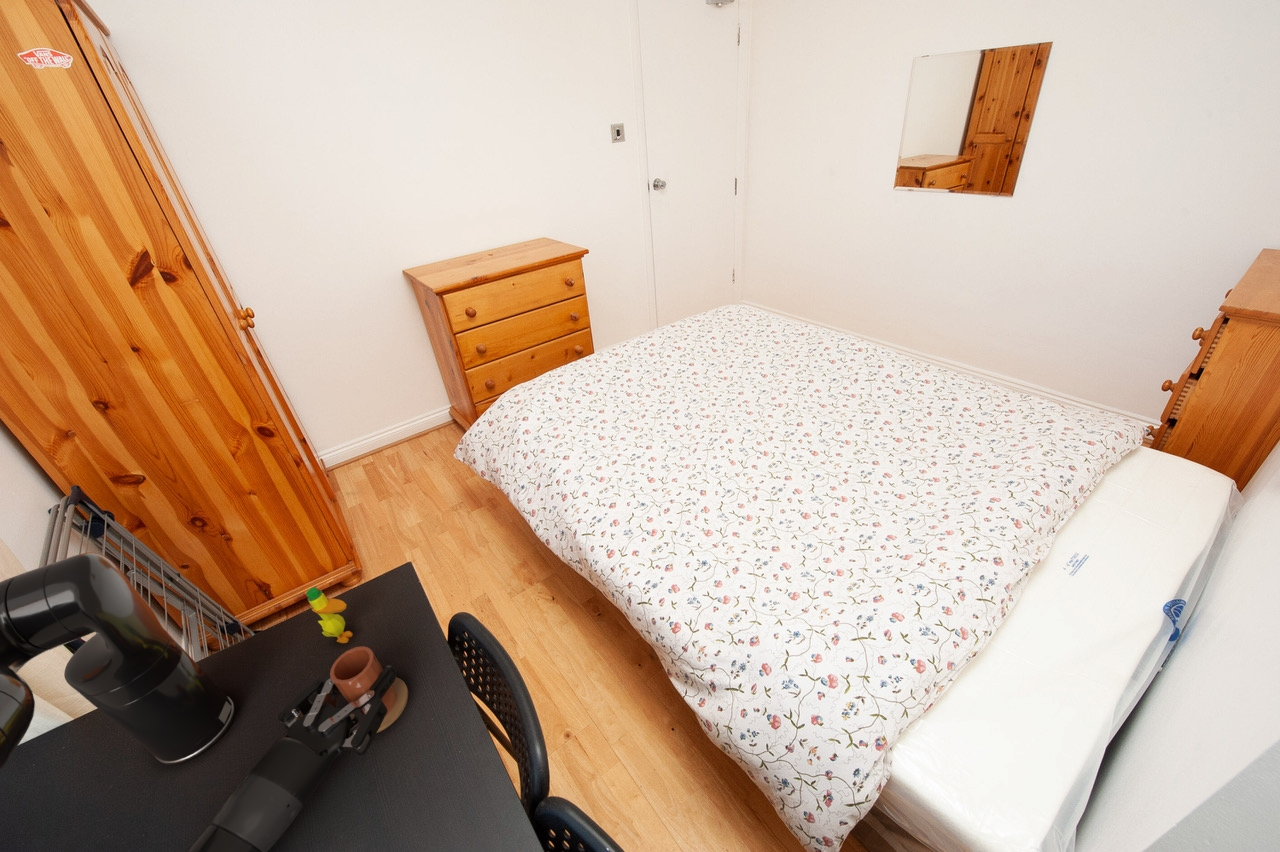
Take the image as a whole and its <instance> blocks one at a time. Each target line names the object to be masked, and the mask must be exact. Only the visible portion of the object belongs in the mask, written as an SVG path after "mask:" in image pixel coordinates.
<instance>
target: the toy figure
mask: <svg viewBox="0 0 1280 852" xmlns="http://www.w3.org/2000/svg"><path fill="white" fill-rule="evenodd" d="M305 595H306V596H307V601H308V603H309V604H310V605H311V607H312V608H311V611H312V612H314V613H316V614H317V615H318V616H319V617H320V618H321V620H317V622H318V624H319V625H320V626H321V629H322V630H323V631H321V634H323V636H324V637H327V638H329V637H333V638H334V637H336V638H337V640H336V642H337V643H340V644H346V643H348V642H349V641H350V638H352V637H353V636H354V633H353V632H352V631H350V630H346V631H344V630H345V626H346V621H345V618H344V616H342V615H340V614H339V613H343V612H344V611H345V610H346V609H347V605H348V604H347V603H345V601H343V600H341V599H338V598H332V597H331V598H329V597H326V595H325V593H323V590H321V589H318V588H317V587H316V586H313V587H311V588H309V589H308V590H306V592H305Z"/></svg>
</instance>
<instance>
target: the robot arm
mask: <svg viewBox="0 0 1280 852" xmlns="http://www.w3.org/2000/svg"><path fill="white" fill-rule="evenodd" d="M93 633H96V634H94V635H93V636H92V637H90V638H89V639H87V640H86V642H84V643H83V644H82V645H81V646H80V647H79V648H78V649H77V650H76V651H75V652H74V653H73V654H72V655H71V657H70V659H69V660H68V661H67V664H66V665H65V668H64V673H63V674H64V679H65V682H66V684H68V685H69V686H70V687H71V689H73V690H74V691H76V692H77V693H78V694H79V695H80V696H82V697H83V698H84V699H85V700H87V701H88V702H89V703H90V704H92V706H94V707H96V709H98V710H99V711H100V712H102V713H103V714H104V715H105V716H106V717H108V718H109V719H110V720H111V721H112V722H113V723H115V724H116V725H117V726H118V727H119V728H121V729H122V730H123V731H124V732H125V733H126V734H128V735H129V736H130V737H132V738H133V739H134V740H135V741H136V742H138V744H139V745H141V746H142V747H143V748H145V750H147V751H148V752H149V753H150V754H151V755H153V756H154V758H155V759H156V760H157V761H159V762H160V763H161V764H163V765H166V766H177V765H182V764H184V763H187V762H190V761H192V760H194V759H196V758H197V757H199V756H200V755H202V754H204V753H205V752H207V751H208V750H209V749H211V748H212V747H213V746H214V745H215V744H217V743H218V741H219V740H221V738H222V737H223V736H224V735H225V734H226V733H227V731H228V730H229V728H230V727H231V725H232V723H233V721H234V719H235V715H236V704H235V702H234V701H233V700H232V699H231V698H230V696H227V694H225V693H224V691H223V690H222V689H221V688H220V687H219V686H218V685H217V683H216V682H214V681H213V679H212V678H211V677H210V676H209V675H208V674H207V673H206V672H205V671H204V669H202V667H200V666H199V664H198V663H197V662H196V661H195V660H194V659H193V658H192V657H191V656H190V655H189V654H188V653H187V651H186V650H185V649H184V648H183V647H182V646H181V645H180V644H179V643H178V642H177V641H176V640H175V638H174V637H172V636H171V634H170V633H169V632H168V631H167V630H166V629H165V627H164V626H163V625H162V624H161V622H160V621H159V619H158V617H157V615H156V614H155V612H154V611H153V609H152V608H151V606H149V604H148V603H147V602H146V601H145V599H144V598H143V597H142V596H141V595H140V593H139V591H137V589H136V588H135V587H134V586H133V585H132V583H131V582H130V580H129V579H128V578H127V577H126V575H125V574H124V573H123V571H122V570H121V569H120V568H119V567H118V566H117V564H115V562H113V561H112V560H111V559H109V558H108V557H107V556H104V555H103V554H101V553H96V552H84V553H79V554H76V555H72V556H69V557H67V558H64V559H60V560H58V561H55V562H52V563H49V564H46V565H43V566H41V567H38V568H37V567H36V568H35V569H31V570H29V571H26V572H22V573H20V574H17V575H15V576H12V577H9V578H7V579H4V580H2V581H0V773H1V772H2V771H3V770H4V768H5V766H6V764H7V763H8V761H9V760H10V758H11V757H12V755H13V754H14V753H15V751H16V749H17V748H18V746H19V745H20V743H21V742H22V740H23V739H24V737H25V735H26V733H27V732H28V730H29V728H30V726H31V723H32V721H33V719H34V717H35V709H36V699H35V696H34V692H33V690H32V688H31V686H30V685H29V684H28V682H27V681H26V680H25V679H24V678H23V677H22V676H21V675H20V674H19V673H18V672H20V670H21V669H22V668H23V667H24V666H25V665H27V663H28V662H30V661H32V660H33V659H34V658H36V657H38V656H40V655H42V654H44V653H47V652H48V651H51V650H53V649H56V648H58V647H62V646H64V645H66V644H69V643H71V642H74V641H76V640H79V639H81V638H84V637H86V636H89V635H91V634H93ZM396 675H397V672H396V670H395V668H394V667H393V666H392V665H386V666H385V667H384V668H383V671H382V673H381V674H380V675H379V676H378V678H377V679H376V681H375V682H374V683H373V684H372V686H371V687H370V688H369V689H370V691H368V692H367V693H366V694H364V695H363V696H362V697H361V698H359V699H358V700H357V701H355V702H351V703H348V704H346V705H345V706H344V707H343V708H342V707H337V702H338V699H339V697H340V695H341V694H342V693H341V692H340V691H339V689H338V688H337V686H336V685H335V683H334V682H333V681H332V679H331V678H330V677H329V678H328V679H327V680H322V679H321V678H316V679H315V680H314V681H312V682H311V683H310V684H309V685H308V686H307V687H306V688H305V689H304V690H303V691H302V692H301V693H300V694H298V695H297V696H296V697H294V699H293V700H291V702H289V704H288V705H286V706H285V707H284V708H283V709H282V710H281V711H280V712H279V713H278V714H277V719H278V721H279V722H280V723H281V724H282V726H283V727H284V728H285V729H288V730H287V733H286V735H285V736H282V737H280V738H278V739H276V741H275V742H274V743H273V744H272V745H271V747H269V749H268V750H267V751H266V753H265V754H264V755H263V756H262V757H261V759H259V761H258V762H257V763H256V764H255V765H254V767H253V768H252V769H251V770H250V771H249V772H248V774H247V775H246V776H245V777H244V778H243V779H242V781H241V782H240V783H239V784H238V785H237V786H236V788H235V789H234V790H233V792H232V793H230V795H228V797H227V798H226V800H225V801H224V803H223V804H222V805H221V807H220V808H219V810H218V811H217V813H216V814H215V816H214V817H213V818H212V819H211V821H210V822H209V824H207V825H206V827H205V828H204V829H203V830H202V831H201V832H200V834H199V835H198V836H197V837H196V838H195V840H194V841H193V842H192V843H191V845H189V847H187V848H186V850H185V852H269V851H270V850H271V849H272V847H273V846H274V845H275V844H276V843H277V841H279V839H280V838H281V837H282V836H283V835H284V833H285V832H286V831H287V830H288V828H289V827H290V826H291V824H292V823H293V822H294V821H295V819H296V817H297V816H298V814H300V812H301V811H302V809H303V808H304V806H305V805H306V804H307V802H308V801H309V800H310V798H311V797H312V795H313V794H314V793H315V792H316V790H317V788H318V787H319V786H320V784H321V783H322V782H323V781H324V779H325V778H326V776H327V775H328V774H329V772H330V769H331V767H332V764H333V762H334V761H335V759H336V758H338V757H339V756H340V755H341V754H343V753H344V752H345V751H353V752H356V753H357V754H358V756H364V755H366V753H368V750H369V748H370V746H371V745H372V743H373V741H374V739H375V736H377V734H378V733H377V731H378V729H379V727H380V725H381V723H382V722H383V720H384V718H385V716H386V714H387V712H388V709H387V708H386V706H385V705H384V703H383V701H382V698H383V696H384V695H385V693H386V692H387V691H388V689H389V688H390V687H391V685H392V684H393V683H394V681H395V679H396V677H397V676H396ZM367 703H368V704H367ZM366 704H367V705H366ZM365 705H366V706H365ZM364 706H365V707H364ZM361 708H362V709H361ZM351 714H354V715H355V716H354V718H353V719H351V716H350V715H351ZM359 725H360V726H359ZM358 726H359V728H358V730H355V729H356V728H357V727H358ZM353 730H354V731H353ZM351 733H352V735H351Z"/></svg>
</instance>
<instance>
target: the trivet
mask: <svg viewBox="0 0 1280 852" xmlns="http://www.w3.org/2000/svg"><path fill="white" fill-rule="evenodd" d="M392 685H393V687H394V689H395V691H396V694H397V699H396V702H395V705H394V707H393V708H392V710H391V711H390V712H389V713H388V714H387V715H386V716H385V718H384V720H383V722H382V723H381V725H380V727H379V729H378V731H377V733H376V734H378V733H380V732H382V731H385V730H386V729H388V727H390V726H391V725H392V724H394V723H395V722H396V721H397V719H399V718H400V716H401V715H402V713H403V711H404V710H405V708H406V706H407V703H408V699H409V689H408V686H407V685H406V683H405V681H404V680H402V679H401V678H399V677H397V676H396V679H395V681H394V683H393V684H392ZM350 716H351V719H353V718H354V716H355V715H354V714H351V715H350ZM359 726H360V725H359ZM359 726H358V727H357V728H356V729H355V730H358V728H359ZM353 731H354V730H353ZM353 731H352V732H353Z"/></svg>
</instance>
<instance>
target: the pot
mask: <svg viewBox="0 0 1280 852" xmlns="http://www.w3.org/2000/svg"><path fill="white" fill-rule="evenodd" d="M383 670H384V668H383V666H382V665H381V663H380V662H379V660H378V658H377V656H376V655H375V653H374V652H373V650H372V649H371V648H369V647H367V646H364V645H363V646H356V647H352V648H351V649H348V650H347V651H345V652H344V653H342V654H341V655H340V656H338V658H337V659H336V660H335V661H334V662H333V664H332V666H331V668H330V671H329V679H330V678H331V679H332V681H333V682H334V683H335V685H336V686H337V688H338V689H339V691H340V692H341V693H340V694H341V695H342V696H343V698H344V700H345V701H346V702H347V703H348V704H349V703H351V702H355V701H357V700H358V699H359V698H361V697H362V696H363V695H364V694H366V693H367V692H368V691H370V689H369V688H370V687H371V686H372V684H373V683H374V682H375V681H376V679H377V678H378V676H379V675H380V674H381V673H382V671H383ZM396 699H397V694H396V691H395V689H394V687H393V685H391V687H390V688H389V689H388V691H387V692H386V693H385V695H384V696H383V698H382V701H383V703H384V705H385V706H386V708H387V709H388V712H387V714H388V713H389V712H390V711H391V710H392V708H393V707H394V705H395V702H396ZM367 704H368V703H367ZM367 704H366V705H367ZM366 705H365V706H366ZM365 706H364V707H365ZM361 709H362V708H361ZM387 714H386V715H387Z"/></svg>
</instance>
